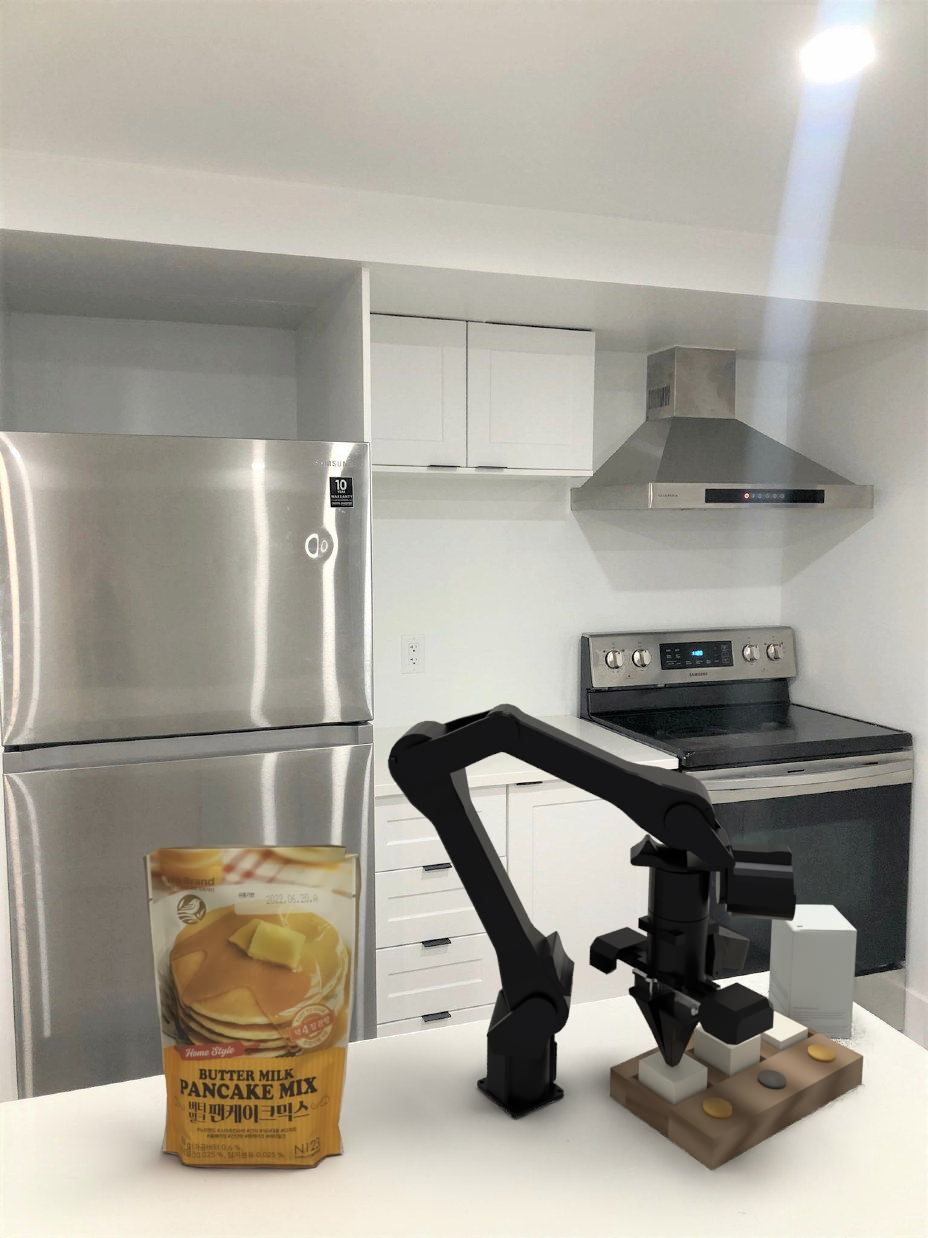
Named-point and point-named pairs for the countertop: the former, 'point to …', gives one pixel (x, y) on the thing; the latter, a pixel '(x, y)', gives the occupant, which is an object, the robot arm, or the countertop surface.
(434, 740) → the robot arm
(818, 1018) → the supplement box
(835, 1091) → the button board
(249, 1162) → the pancake mix bag
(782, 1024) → the far button
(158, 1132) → the countertop surface
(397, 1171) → the countertop surface
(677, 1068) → the near button
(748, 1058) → the middle button
